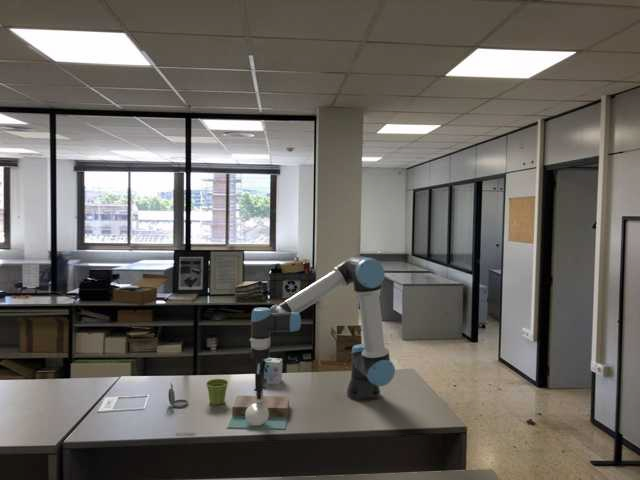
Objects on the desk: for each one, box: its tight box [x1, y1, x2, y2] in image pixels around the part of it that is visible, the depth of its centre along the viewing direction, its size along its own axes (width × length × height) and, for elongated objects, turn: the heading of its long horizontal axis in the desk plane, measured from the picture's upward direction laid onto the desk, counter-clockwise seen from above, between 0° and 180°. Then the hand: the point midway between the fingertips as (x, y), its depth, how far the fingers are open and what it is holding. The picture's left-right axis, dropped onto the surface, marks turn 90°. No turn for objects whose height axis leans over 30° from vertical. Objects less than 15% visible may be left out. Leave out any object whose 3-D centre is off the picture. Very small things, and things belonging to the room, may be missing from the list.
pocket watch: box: [167, 382, 189, 408], centre depth 203 cm, size 8×8×10 cm
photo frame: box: [97, 394, 150, 413], centre depth 204 cm, size 15×1×18 cm
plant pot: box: [205, 378, 230, 406], centre depth 207 cm, size 9×9×9 cm
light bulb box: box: [264, 357, 283, 385], centre depth 234 cm, size 11×7×11 cm, turn 81°
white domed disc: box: [245, 403, 269, 427], centre depth 187 cm, size 9×9×2 cm
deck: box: [231, 394, 290, 418], centre depth 199 cm, size 22×12×4 cm, turn 90°
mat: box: [226, 415, 288, 431], centre depth 188 cm, size 22×10×1 cm, turn 90°
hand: (259, 405), depth 192 cm, fingers closed
